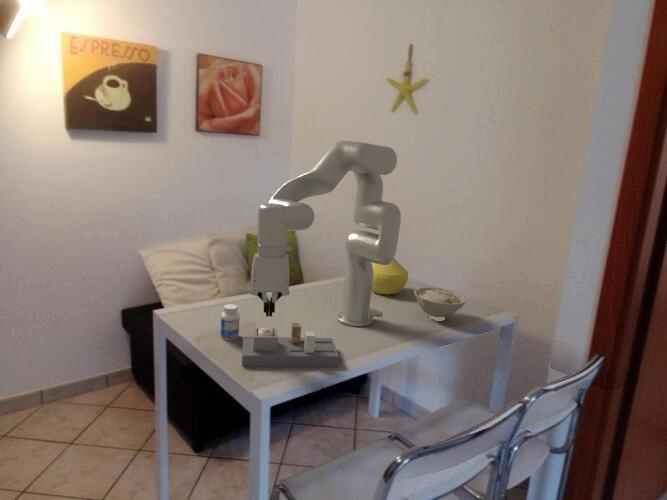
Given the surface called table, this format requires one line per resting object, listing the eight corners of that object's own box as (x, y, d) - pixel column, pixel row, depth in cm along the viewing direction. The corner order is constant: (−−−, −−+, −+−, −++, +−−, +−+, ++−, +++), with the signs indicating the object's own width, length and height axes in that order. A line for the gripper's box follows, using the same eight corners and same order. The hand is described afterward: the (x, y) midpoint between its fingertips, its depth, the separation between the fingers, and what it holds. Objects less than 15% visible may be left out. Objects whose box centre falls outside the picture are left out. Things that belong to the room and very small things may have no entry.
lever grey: (312, 348, 132) (314, 331, 131) (313, 353, 129) (315, 336, 128) (304, 348, 132) (305, 331, 131) (305, 352, 129) (306, 335, 128)
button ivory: (271, 341, 133) (272, 327, 132) (272, 347, 130) (273, 333, 129) (257, 341, 133) (258, 327, 132) (257, 347, 129) (258, 333, 128)
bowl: (440, 332, 161) (445, 304, 159) (399, 313, 176) (402, 287, 173) (473, 322, 174) (478, 296, 171) (432, 305, 188) (436, 281, 186)
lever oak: (298, 339, 137) (300, 323, 136) (299, 343, 134) (301, 327, 133) (290, 339, 137) (291, 322, 136) (291, 343, 134) (292, 326, 133)
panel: (331, 347, 141) (333, 325, 140) (338, 366, 130) (340, 342, 128) (242, 346, 137) (243, 323, 135) (241, 365, 125) (243, 341, 123)
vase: (353, 288, 200) (358, 244, 196) (382, 282, 213) (387, 241, 209) (386, 301, 188) (392, 255, 183) (414, 294, 200) (420, 250, 196)
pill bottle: (221, 332, 144) (223, 302, 142) (239, 333, 145) (241, 303, 143) (219, 340, 139) (220, 309, 137) (237, 341, 140) (239, 310, 137)
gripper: (298, 247, 130) (294, 309, 135) (242, 246, 127) (241, 309, 132) (300, 254, 123) (297, 320, 128) (242, 253, 120) (240, 320, 125)
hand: (268, 314), depth 130 cm, fingers closed
